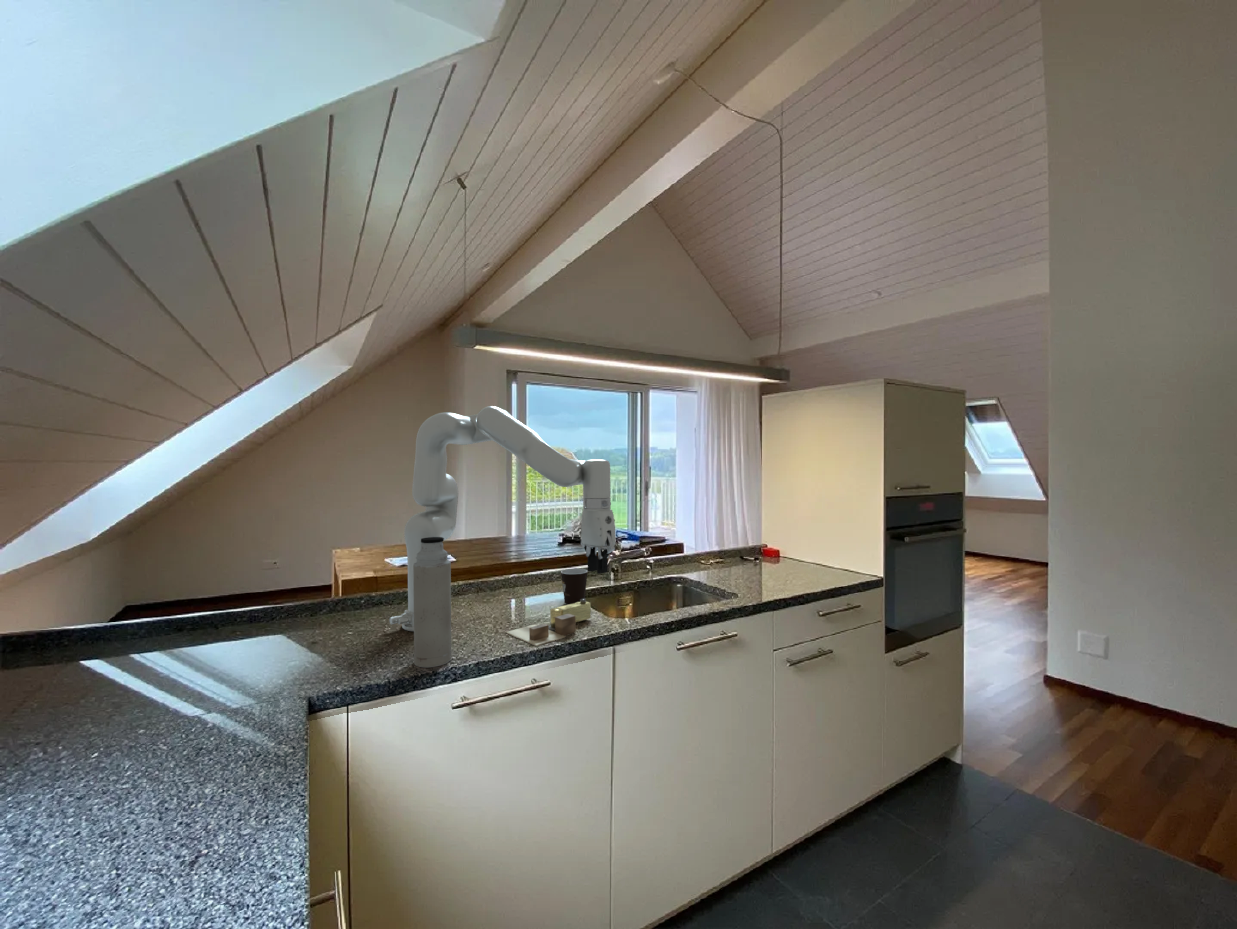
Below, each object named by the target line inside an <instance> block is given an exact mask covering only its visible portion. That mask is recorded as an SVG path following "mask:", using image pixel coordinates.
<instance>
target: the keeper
mask: <svg viewBox="0 0 1237 929" xmlns="http://www.w3.org/2000/svg"><path fill="white" fill-rule="evenodd" d="M529 635H530V640H533V641H535V640H538V639H542V638H545V637H549V624H546V623H542V624H537V626H534V627H530V628H529Z"/></svg>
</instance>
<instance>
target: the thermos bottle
mask: <svg viewBox="0 0 1237 929" xmlns="http://www.w3.org/2000/svg"><path fill="white" fill-rule="evenodd" d="M444 541H445V540H444V538H443V537H428V538H422V539H421V551H420V552H418V553H417V557H416V559H417V562H416V563H414V565H413V577H414V631H413V664H414V665H415V666H416V667H418V668H426V669H427V668H428V669H429V668H436V667H439V666H443V665H446V664H447V663H450V661H452V579H451V578H452V577H451V576H452V575H451V574H452V572H451V571H452V568H451V566H452V565H451V564H452V563H451V560H449V559H448V556H449V554H448V551H447V550H445V549H444V543H443V542H444Z"/></svg>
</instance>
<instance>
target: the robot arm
mask: <svg viewBox="0 0 1237 929" xmlns="http://www.w3.org/2000/svg"><path fill="white" fill-rule="evenodd" d="M489 441H490V442H491V441H493V442H495V443H496V444H498V445H499V446H500V447H502V448H504V449H505V450H507V451H508V452H509V453H511V454H513V455H514V456H515V457H517V458H518V459H519V460H520V461H522V462H523V463H524V464H526V465H528V466H529V467H530V468H531V469H533V470H534V471H535V472H537V473H538V474H539V475H541V476H543V477H544V478H546V479H547V480H549V481H551V482H552V483H553V484H555V485H557V486H559V487H563V488H569V487H574V486H579V485H582V503H583V504H582V514H581V521H580V522H581V523H580V525H581V526H580V545H581V547H582V548H583V549H584V550H585V556H586V557H587V571H588V572H596V573H597V574H598V575H599V574H605V573H607V572H608V558H610V554H611V553H612V552H614V551H615V550H616V547H615V545H616V544H617V543H616V542H617V541H616V540H617V537H616V524H615V517H614V511H613V509H611V507H612V506H611V505H612V502H611V498H612V497H611V463H610V461H609V460H607V459H597V458H596V459H587V460H582V459H581V460H579V459H572V458H568V457H566V456H565V455H563V453H561V452H559V451H557V450H556V449H555V448H553V447H552V446H550V445H549V444H547V442H545V441H544V440H543V439H542V438H541V436H540V435H539V434H538V433H537V432H536V431H534V430H533V429H532V428H530V427H529V426H527V425H526V424H524V423H523V422H521V421H520V420H518V419H516V418H515V417H513V416H512V414H511V413H510V412H508V411H507V410H506V409H503V408H501V407H498V406H495V405H494V406H493V405H488V406H485V407H483V408H481V410H480V411H479V412H478V413H477V414H471V415H470V414H469V415H463V414H462V415H461V414H458V413H454V412H438V413H435V414H434V415H431V416H429V417H428V418H426V419H425V420H424V421H423V422H422V424H421V425H420V426H419V428H418V431H417V434H416V438H415V456H414V457H415V458H414V466H413V478H412V487H411V488H412V490H411V495H412V498H413V500H414V502H415V503H416V504H417V505H418V506H421V507H425V511H420V512H417V513H416V514H413V515H412V516H410V517H409V519H408V520H407V522H406V523H405V526H404V530H403V533H404V534H403V536H404V537H403V538H404V541H405V542H404V543H405V548H406V557H407V609H405V610H404V613H401V614H400V615H395V616H391V617H389V625H394V624H398V625H401V626H402V627H401V628H402V629H403V630H404V631H406V632H407V631H409V632H414V577H413V565H414V563H416V562H417V559H416V557H417V553H418V552H420V551H421V539H422V538H428V537H443V538H444V541H445V540H447V539H449V538H450V537H451V536H452V535H453V533H454V531H455V529H456V524H457V516H458V514H457V513H458V503H459V486H458V483H457V481H456V480H455V478H454V477H453V476H452V475H450V474H448V473H447V468H448V467H447V466H448V454H447V446H448V445H449V444H452V445H459V446H460V445H461V446H463V445H464V446H465V445H472V444H478V443H484V442H489ZM597 554H598V555H597Z"/></svg>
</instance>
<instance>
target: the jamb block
mask: <svg viewBox="0 0 1237 929" xmlns="http://www.w3.org/2000/svg"><path fill="white" fill-rule="evenodd" d="M554 632H555V633H557V634H560V635H564V636H566V637H567V636H568V635H572V634H575V633H576V622H575V616H574V615H571V614H565V615H561V616H557V617H555V631H554Z"/></svg>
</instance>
